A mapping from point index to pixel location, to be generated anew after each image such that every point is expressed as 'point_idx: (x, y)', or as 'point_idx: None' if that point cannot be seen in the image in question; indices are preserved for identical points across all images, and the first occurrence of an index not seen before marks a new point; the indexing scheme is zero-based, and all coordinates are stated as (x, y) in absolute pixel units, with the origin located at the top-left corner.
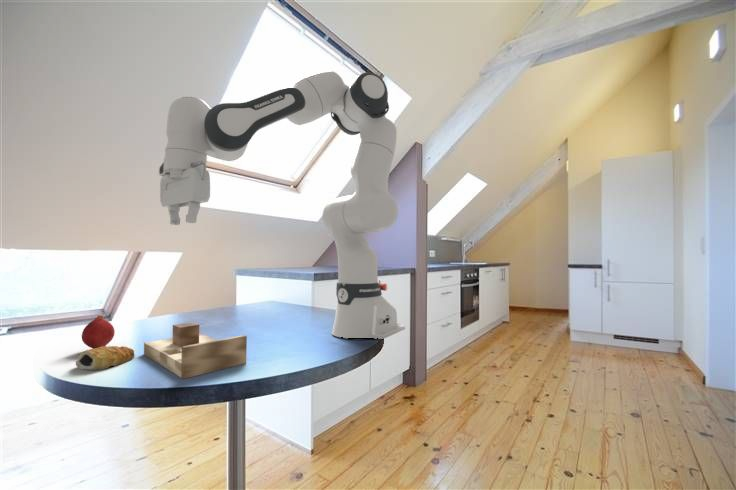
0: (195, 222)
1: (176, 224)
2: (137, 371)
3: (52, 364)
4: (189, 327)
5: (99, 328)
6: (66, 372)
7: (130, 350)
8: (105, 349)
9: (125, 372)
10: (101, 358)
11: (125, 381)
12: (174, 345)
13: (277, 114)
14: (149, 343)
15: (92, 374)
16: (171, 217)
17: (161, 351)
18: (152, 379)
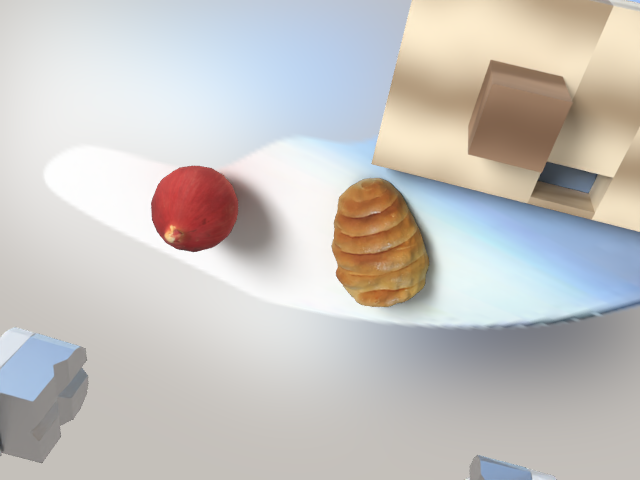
0: (552, 477)
1: (81, 364)
2: (523, 241)
3: (272, 287)
4: (555, 137)
5: (221, 234)
6: None
7: (395, 208)
8: (392, 275)
9: (501, 256)
10: (418, 283)
11: (568, 289)
12: None
13: None
14: (397, 162)
15: (440, 290)
16: (10, 451)
17: (530, 200)
18: (623, 260)
